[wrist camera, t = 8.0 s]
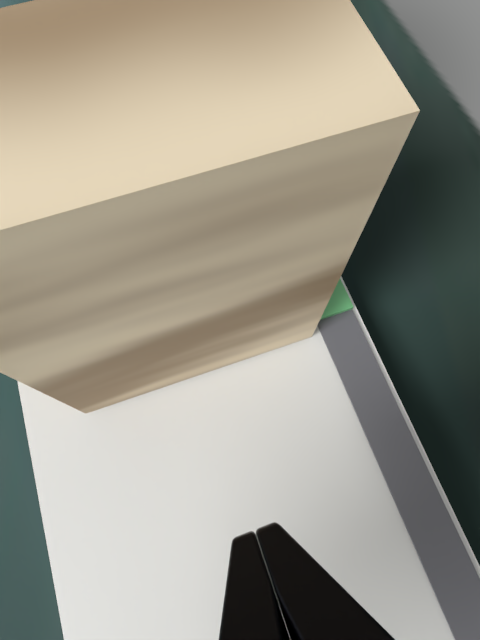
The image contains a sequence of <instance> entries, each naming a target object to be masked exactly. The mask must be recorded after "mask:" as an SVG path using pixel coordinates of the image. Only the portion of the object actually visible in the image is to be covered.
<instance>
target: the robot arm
mask: <svg viewBox="0 0 480 640" xmlns="http://www.w3.org/2000/svg"><path fill="white" fill-rule="evenodd" d="M256 536H257V537H256ZM257 539H258V540H257ZM258 542H259V543H258ZM259 545H260V546H259ZM260 548H261V549H260ZM261 551H262V552H261ZM262 554H263V555H262ZM263 557H264V558H263ZM264 560H265V561H264ZM265 563H266V564H265ZM266 566H267V567H266ZM267 569H268V570H267ZM281 612H282V613H281ZM282 615H283V616H282ZM283 618H284V619H283ZM284 621H285V622H284ZM285 624H286V625H285ZM286 627H287V628H286ZM287 630H288V631H287ZM288 633H289V634H288ZM289 636H290V637H289ZM290 639H291V640H395V639H394V638H393V637H392V636H391V635H390V634H389V633H388V632H387V631H386V630H385V629H384V628H383V627H382V626H381V625H380V624H379V623H378V622H377V621H376V620H375V619H374V618H373V617H372V616H371V615H370V614H369V613H368V612H367V611H366V610H365V609H364V608H363V607H362V606H361V605H360V604H359V603H358V602H357V601H356V600H355V599H354V598H353V597H352V596H351V595H350V594H349V593H348V592H347V591H346V590H345V589H344V588H343V587H342V586H341V585H340V584H339V583H338V582H337V581H336V580H335V579H334V578H333V577H332V576H331V575H330V574H329V573H328V572H327V571H326V570H325V569H324V568H323V567H322V566H321V565H320V564H319V563H318V562H317V561H316V560H315V559H314V558H313V557H312V556H311V555H310V554H309V553H308V552H307V551H306V550H305V549H304V548H303V547H302V546H301V545H300V544H299V543H298V542H297V541H296V540H295V539H294V538H293V537H292V536H291V535H290V534H289V533H288V532H287V531H286V530H285V529H284V528H283V527H282V526H281V525H280V524H278V523H276V522H273V523H270V524H268V525H265V526H262V527H260V528H258V529H257V530H256V534H255V533H254V532H253V531H249V532H247V533H244V534H242V535H239V536H237V537H235V538H234V539H233V540H232V544H231V551H230V558H229V566H228V573H227V581H226V588H225V596H224V603H223V611H222V618H221V626H220V633H219V640H290Z"/></svg>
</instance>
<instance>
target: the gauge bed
mask: <svg viewBox="0 0 480 640" xmlns="http://www.w3.org/2000/svg"><path fill="white" fill-rule="evenodd" d="M18 387H19V392H20V398H21V404H22V409H23V415H24V420H25V426H26V431H27V437H28V442H29V448H30V453H31V459H32V464H33V470H34V475H35V481H36V487H37V492H38V498H39V503H40V509H41V514H42V520H43V525H44V531H45V536H46V542H47V547H48V553H49V558H50V564H51V570H52V575H53V581H54V586H55V592H56V597H57V603H58V608H59V614H60V619H61V625H62V630H63V636H64V640H219V633H220V626H221V618H222V611H223V603H224V596H225V588H226V581H227V573H228V566H229V558H230V551H231V544H232V540H233V539H234V538H235V537H237V536H239V535H242V534H244V533H247V532H249V531H253V532H254V533H255V534H256V530H257V529H258V528H260V527H262V526H265V525H268V524H270V523H273V522H276V523H278V524H280V525H281V526H282V527H283V528H284V529H285V530H286V531H287V532H288V533H289V534H290V535H291V536H292V537H293V538H294V539H295V540H296V541H297V542H298V543H299V544H300V545H301V546H302V547H303V548H304V549H305V550H306V551H307V552H308V553H309V554H310V555H311V556H312V557H313V558H314V559H315V560H316V561H317V562H318V563H319V564H320V565H321V566H322V567H323V568H324V569H325V570H326V571H327V572H328V573H329V574H330V575H331V576H332V577H333V578H334V579H335V580H336V581H337V582H338V583H339V584H340V585H341V586H342V587H343V588H344V589H345V590H346V591H347V592H348V593H349V594H350V595H351V596H352V597H353V598H354V599H355V600H356V601H357V602H358V603H359V604H360V605H361V606H362V607H363V608H364V609H365V610H366V611H367V612H368V613H369V614H370V615H371V616H372V617H373V618H374V619H375V620H376V621H377V622H378V623H379V624H380V625H381V626H382V627H383V628H384V629H385V630H386V631H387V632H388V633H389V634H390V635H391V636H392V637H393V638H394V639H395V640H480V566H479V564H478V562H477V560H476V557H475V555H474V553H473V551H472V549H471V547H470V545H469V543H468V541H467V539H466V536H465V534H464V532H463V530H462V528H461V526H460V524H459V522H458V520H457V518H456V515H455V513H454V511H453V509H452V507H451V505H450V503H449V501H448V499H447V497H446V495H445V492H444V490H443V488H442V486H441V484H440V482H439V480H438V478H437V476H436V474H435V471H434V469H433V467H432V465H431V463H430V461H429V459H428V457H427V455H426V453H425V450H424V448H423V446H422V444H421V442H420V440H419V438H418V436H417V434H416V432H415V429H414V427H413V425H412V423H411V421H410V419H409V417H408V415H407V413H406V411H405V409H404V406H403V404H402V402H401V400H400V398H399V396H398V394H397V392H396V390H395V388H394V385H393V383H392V381H391V379H390V377H389V375H388V373H387V371H386V369H385V367H384V364H383V362H382V360H381V358H380V356H379V354H378V352H377V350H376V348H375V346H374V344H373V341H372V339H371V337H370V335H369V333H368V331H367V329H366V327H365V325H364V323H363V320H362V318H361V316H360V314H359V312H358V310H357V308H356V306H355V304H354V302H353V299H352V297H351V295H350V293H349V291H348V289H347V287H346V285H345V283H344V281H343V279H342V276H341V277H340V279H339V281H338V283H337V285H336V287H335V289H334V291H333V294H332V296H331V298H330V300H329V302H328V304H327V306H326V308H325V310H324V312H323V315H322V317H321V319H320V321H319V323H318V325H317V327H316V329H315V331H314V333H313V335H312V337H310V338H307V339H304V340H301V341H298V342H295V343H292V344H289V345H286V346H283V347H280V348H277V349H274V350H272V351H269V352H266V353H263V354H260V355H257V356H254V357H251V358H248V359H245V360H242V361H239V362H236V363H233V364H230V365H227V366H224V367H222V368H219V369H216V370H213V371H210V372H207V373H204V374H201V375H198V376H195V377H192V378H189V379H186V380H183V381H180V382H177V383H174V384H172V385H169V386H166V387H163V388H160V389H157V390H154V391H151V392H148V393H145V394H142V395H139V396H136V397H133V398H130V399H127V400H124V401H122V402H119V403H116V404H113V405H110V406H107V407H104V408H101V409H98V410H95V411H92V412H89V413H86V414H85V413H83V412H81V411H79V410H77V409H75V408H73V407H71V406H69V405H67V404H65V403H62V402H60V401H58V400H56V399H54V398H52V397H50V396H48V395H46V394H44V393H42V392H40V391H38V390H36V389H34V388H31V387H29V386H27V385H25V384H23V383H21V382H19V381H18ZM256 537H257V536H256ZM257 540H258V539H257ZM258 543H259V542H258ZM259 546H260V545H259ZM260 549H261V548H260ZM261 552H262V551H261ZM262 555H263V554H262ZM263 558H264V557H263ZM264 561H265V560H264ZM265 564H266V563H265ZM266 567H267V566H266ZM267 570H268V569H267ZM281 613H282V612H281ZM282 616H283V615H282ZM283 619H284V618H283ZM284 622H285V621H284ZM285 625H286V624H285ZM286 628H287V627H286ZM287 631H288V630H287ZM288 634H289V633H288ZM289 637H290V636H289ZM290 640H291V639H290Z"/></svg>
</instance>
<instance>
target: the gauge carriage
mask: <svg viewBox="0 0 480 640" xmlns="http://www.w3.org/2000/svg"><path fill="white" fill-rule="evenodd" d="M419 112H420V110H419V108H418V107H417V105H416V103H415V102H414V100H413V99H412V97H411V96H410V94H409V92H408V91H407V89H406V88H405V86H404V85H403V83H402V81H401V80H400V78H399V77H398V75H397V73H396V72H395V70H394V69H393V67H392V66H391V64H390V62H389V61H388V59H387V58H386V56H385V55H384V53H383V51H382V50H381V48H380V47H379V45H378V44H377V42H376V40H375V39H374V37H373V36H372V34H371V33H370V31H369V29H368V28H367V26H366V25H365V23H364V22H363V20H362V18H361V17H360V15H359V14H358V12H357V11H356V9H355V7H354V6H353V4H352V3H351V1H350V0H34V1H29V2H25V3H21V4H16V5H12V6H7V7H3V8H0V373H3V374H5V375H7V376H9V377H11V378H13V379H15V380H17V381H19V382H21V383H23V384H25V385H27V386H29V387H31V388H34V389H36V390H38V391H40V392H42V393H44V394H46V395H48V396H50V397H52V398H54V399H56V400H58V401H60V402H62V403H65V404H67V405H69V406H71V407H73V408H75V409H77V410H79V411H81V412H83V413H85V414H86V413H89V412H92V411H95V410H98V409H101V408H104V407H107V406H110V405H113V404H116V403H119V402H122V401H124V400H127V399H130V398H133V397H136V396H139V395H142V394H145V393H148V392H151V391H154V390H157V389H160V388H163V387H166V386H169V385H172V384H174V383H177V382H180V381H183V380H186V379H189V378H192V377H195V376H198V375H201V374H204V373H207V372H210V371H213V370H216V369H219V368H222V367H224V366H227V365H230V364H233V363H236V362H239V361H242V360H245V359H248V358H251V357H254V356H257V355H260V354H263V353H266V352H269V351H272V350H274V349H277V348H280V347H283V346H286V345H289V344H292V343H295V342H298V341H301V340H304V339H307V338H310V337H312V335H313V333H314V331H315V329H316V327H317V325H318V323H319V321H320V319H321V317H322V315H323V312H324V310H325V308H326V306H327V304H328V302H329V300H330V298H331V296H332V294H333V291H334V289H335V287H336V285H337V283H338V281H339V279H340V277H341V275H342V273H343V271H344V268H345V266H346V264H347V262H348V260H349V258H350V256H351V254H352V252H353V250H354V248H355V245H356V243H357V241H358V239H359V237H360V235H361V233H362V231H363V229H364V227H365V225H366V222H367V220H368V218H369V216H370V214H371V212H372V210H373V208H374V206H375V204H376V201H377V199H378V197H379V195H380V193H381V191H382V189H383V187H384V185H385V183H386V181H387V178H388V176H389V174H390V172H391V170H392V168H393V166H394V164H395V162H396V160H397V158H398V155H399V153H400V151H401V149H402V147H403V145H404V143H405V141H406V139H407V137H408V135H409V132H410V130H411V128H412V126H413V124H414V122H415V120H416V118H417V116H418V114H419Z"/></svg>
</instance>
